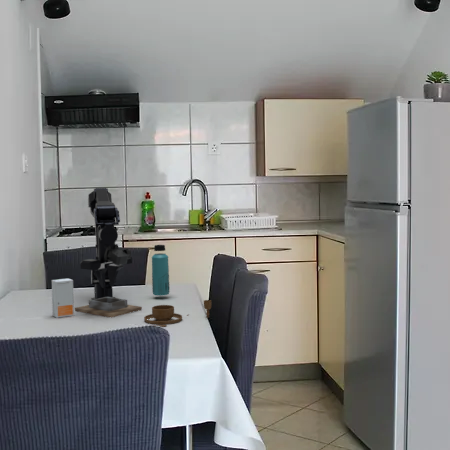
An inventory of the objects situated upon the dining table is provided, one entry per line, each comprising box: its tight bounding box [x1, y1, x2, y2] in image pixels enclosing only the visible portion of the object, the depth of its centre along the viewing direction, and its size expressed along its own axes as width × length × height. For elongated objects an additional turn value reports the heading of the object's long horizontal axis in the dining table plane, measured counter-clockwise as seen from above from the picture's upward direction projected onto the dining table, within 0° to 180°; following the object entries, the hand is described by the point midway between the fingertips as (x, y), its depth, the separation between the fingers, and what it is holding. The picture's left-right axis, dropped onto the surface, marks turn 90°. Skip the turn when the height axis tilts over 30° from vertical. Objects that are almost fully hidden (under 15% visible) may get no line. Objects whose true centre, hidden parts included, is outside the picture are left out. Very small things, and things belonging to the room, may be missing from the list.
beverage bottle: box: [151, 244, 170, 296], centre depth 228 cm, size 6×7×20 cm
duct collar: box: [74, 296, 143, 318], centre depth 208 cm, size 18×14×4 cm
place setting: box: [144, 299, 212, 328], centre depth 192 cm, size 18×20×6 cm
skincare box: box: [51, 278, 75, 319], centre depth 200 cm, size 6×4×12 cm
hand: (107, 287), depth 208 cm, fingers open, 4 cm apart
